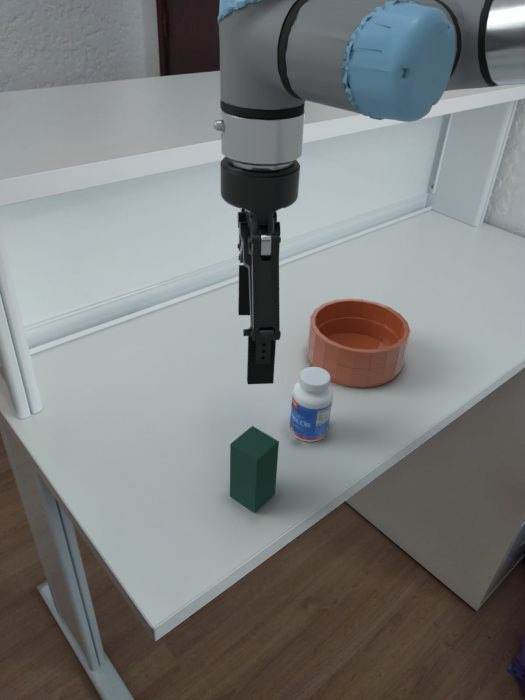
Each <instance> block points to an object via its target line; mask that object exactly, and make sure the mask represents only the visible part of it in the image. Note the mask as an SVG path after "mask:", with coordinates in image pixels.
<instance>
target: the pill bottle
mask: <svg viewBox="0 0 525 700" xmlns="http://www.w3.org/2000/svg"><path fill="white" fill-rule="evenodd" d="M298 379H299V380H298V381H297V382H296V383H295V385H294V386H293V388H292V395H291V405H290V406H291V407H290V416H289V430H290V432H291V434H292V435H293V437H294V438H296V439H298V440H300V441H302V442H307V443H309V442H310V443H312V442H317V441H320V440H322V439H324V438H325V436H326V435H327V434H328V430H329V426H330V420H331V419H330V418H331V412H332V405H333V400H334V392H333V389H332V386H331V381H330V374H329V373H328V372H327V371H326V370H325V369H322V368H320V367H313V366H307V367H305V368H303V369H302V370H301V371H300V374H299V378H298Z"/></svg>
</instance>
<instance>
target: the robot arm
mask: <svg viewBox="0 0 525 700" xmlns="http://www.w3.org/2000/svg"><path fill="white" fill-rule="evenodd" d="M218 8H219V9H218V16H217V24H218V35H219V37H218V38H219V84H220V85H219V87H220V89H219V90H220V91H219V92H220V95H219V96H220V99H219V101H220V102H219V103H220V104H219V105H220V117H221V119H217V120H214V122H213V130H214V131H216V132H221V133H220V152H221V154H222V155H223V156H224V157H223V158H222V160H221V161H220V162H219V163H220V164H219V167H220V168H219V170H220V173H219V175H220V177H219V178H220V196H221V198H222V200H223V201H224V202H225V203H226V204H228V205H230V206H231V207H234V208H236V209H240V211H237V216H236V217H237V218H236V219H237V227H238V228H237V229H238V243H237V247H236V248H237V249H238V252H239V254H238V261H239V265H238V302H237V303H238V305H237V307H238V309H237V311H238V312H237V313H238V316H249V321H250V326H249V327H248V328H244V329H243V330H242V336H243V337H247V365H246V366H247V367H246V368H247V369H246V383H247V385H267V384H268V385H269V384H270V385H271V384H272V385H273V384H274V382H275V381H274V379H275V377H274V376H275V363H276V362H275V361H276V346H277V341H280V339H281V335H282V332H281V327H280V326H281V325H280V323H281V321H280V245H281V243H282V237H281V221H278V213H277V211H279V210H281V209H287V208H289V207H291V206H292V205H293V204H295V203H296V201H297V200H298V198H299V189H300V178H301V177H300V175H301V164H300V162H299V161H298V159H299V158H300V157H302V155H303V154H302V152H303V143H304V142H303V140H304V139H303V138H304V128H305V117H306V116H305V115H306V110H305V104H306V102H310V103H315V104H319V105H323V106H327V107H331V108H335V109H340V110H343V111H346V112H347V111H348V112H351V113H354V114H355V113H356V114H358V115H359V114H360V115H362V116H364V117H369V118H370V119H373V120H378V121H382V120H390V121H399V122H404V123H412V122H416V121H419V120H421V119H423V118H424V117H426V116H427V115H429V113H430V112H431V111H432V108H433V106H435V105H437V104H438V103H439V101H440V100H441V98H442V96H443V95H444V93H445V92H449V91H458V90H472V89H484V88H494V87H500V86H514V85H525V0H219V6H218Z"/></svg>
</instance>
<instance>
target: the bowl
mask: <svg viewBox="0 0 525 700" xmlns="http://www.w3.org/2000/svg"><path fill="white" fill-rule="evenodd" d="M410 334H411V329H410V325H409V322H408V320H406V319H405V318H404V316H403V315H402V314H401V313H399V312H398V311H396V310H395V309H393V308H392V307H390V306H387V305H385V304H382V303H380V302H377V301H372V300H367V299H363V298H341V299H334V300H331V301H327V302H324V303H322V304H320V305H319V306H317V307H316V308H315V309H313V312H312V314H311V315H310V317H309V325H308V336H307V345H306V356H307V357H306V358H308V361H309V363H310V365H311V367H320V368H322V369H325V370H326V371H327V372H328V373H329V374H330V382H333V383H335V384H338V385H342V386H346V387H349V388H364V389H365V388H366V389H367V388H374V387H379V386H383V385H385V384H387V383H389V382H390V381H392V380H393V379H394V378H395V377H396V376H397V375H398V374H400V372H401V371H402V368H403V366H404V361H405V357H406V352H407V348H408V343H409V339H410Z"/></svg>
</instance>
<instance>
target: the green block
mask: <svg viewBox="0 0 525 700" xmlns="http://www.w3.org/2000/svg"><path fill="white" fill-rule="evenodd" d="M279 444H280V442H279V440H277V439H276V438H275V437H272V436H270V435H269V434H267V433H265V432H264V431H262V430H261V429H259V428H257V427H255V426H253V425H251V426H250V427H249V428H247V430H245V431H244V432H243V433H242V434H240V435H239V436H238V437H237V438H236V439H234V440H233V441H232V442H231V443H229V450H230V451H229V497H230V498H232V499H233V500H235V502H238V503H239V504H241V506H243V507H245V508H246V509H248V510H249V511H250V512H251V513H253V514H256V513H257V512H258V511H259V510H260V509H261V508H262V507H263V506H264V505H265V504H266V503H267V502H268V501H269V500H270V499H272V497H273V496H274V495H276V487H277V486H276V485H277V472H278V471H277V470H278V458H279Z"/></svg>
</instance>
